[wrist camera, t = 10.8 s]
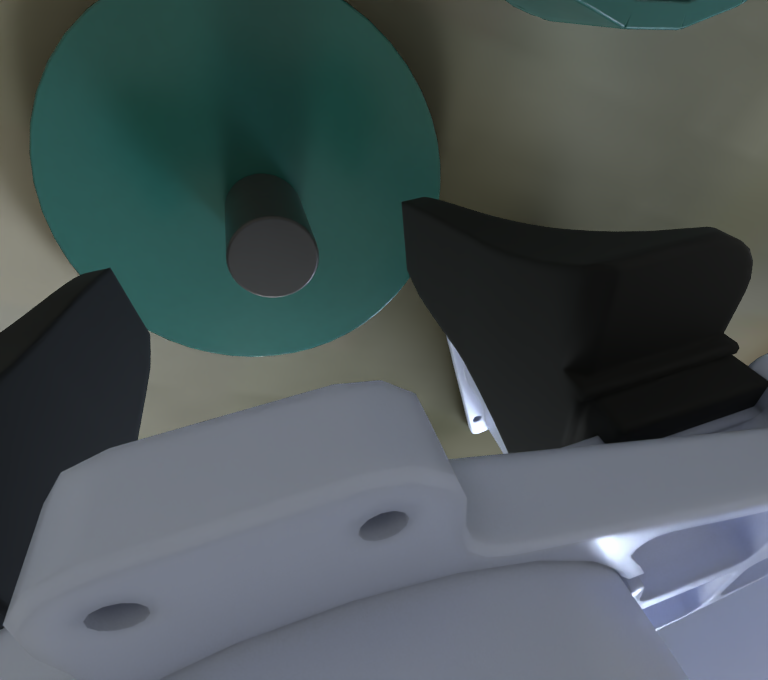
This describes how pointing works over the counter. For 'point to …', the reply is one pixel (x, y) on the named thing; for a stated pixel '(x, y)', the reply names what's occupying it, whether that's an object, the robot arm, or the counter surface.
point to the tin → (627, 12)
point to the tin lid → (234, 165)
